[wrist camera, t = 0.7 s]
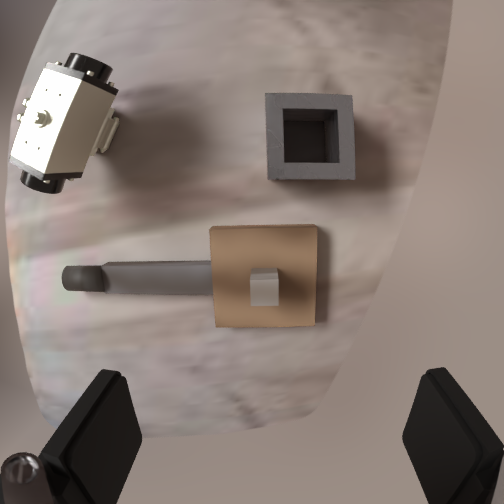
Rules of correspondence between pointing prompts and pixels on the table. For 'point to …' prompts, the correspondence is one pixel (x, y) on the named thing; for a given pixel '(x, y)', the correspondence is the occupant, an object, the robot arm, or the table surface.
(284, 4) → the table surface
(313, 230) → the mallet
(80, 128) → the pneumatic valve
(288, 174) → the hollow grey cube
